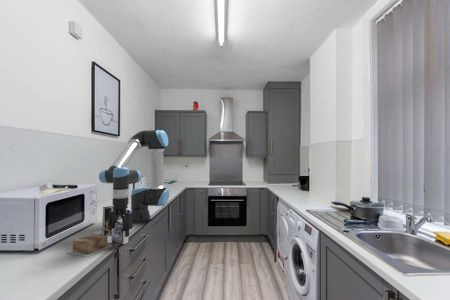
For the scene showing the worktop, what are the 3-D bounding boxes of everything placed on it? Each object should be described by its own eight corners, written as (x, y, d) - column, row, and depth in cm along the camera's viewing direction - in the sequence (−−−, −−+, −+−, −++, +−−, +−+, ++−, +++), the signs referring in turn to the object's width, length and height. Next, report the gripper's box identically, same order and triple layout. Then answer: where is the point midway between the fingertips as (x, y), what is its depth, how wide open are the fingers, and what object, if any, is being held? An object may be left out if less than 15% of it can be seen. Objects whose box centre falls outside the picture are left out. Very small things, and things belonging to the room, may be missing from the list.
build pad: (92, 242, 114) (92, 241, 114) (113, 246, 109) (113, 245, 109) (65, 253, 100) (65, 252, 100) (87, 258, 96) (87, 256, 96)
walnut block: (92, 243, 111) (92, 233, 111) (106, 246, 108) (107, 235, 108) (72, 251, 102) (73, 240, 102) (88, 254, 98) (88, 243, 99)
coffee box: (103, 237, 121) (104, 208, 122) (101, 234, 126) (102, 206, 126) (121, 234, 127) (122, 206, 127) (118, 231, 132) (119, 204, 132)
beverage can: (110, 244, 111) (110, 220, 112) (124, 240, 116) (125, 217, 117) (114, 247, 107) (114, 223, 107) (129, 243, 112) (129, 220, 112)
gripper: (100, 197, 112) (99, 242, 111) (130, 199, 106) (129, 247, 105) (112, 195, 119) (111, 237, 118) (141, 197, 113) (140, 241, 112)
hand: (119, 242), depth 112 cm, fingers closed on beverage can, 7 cm apart
